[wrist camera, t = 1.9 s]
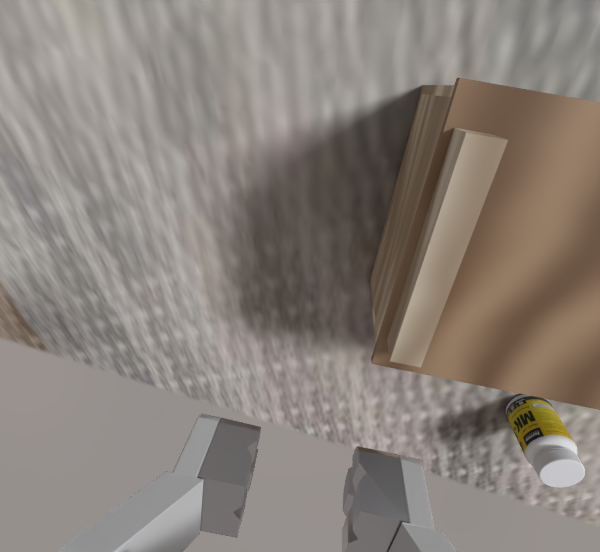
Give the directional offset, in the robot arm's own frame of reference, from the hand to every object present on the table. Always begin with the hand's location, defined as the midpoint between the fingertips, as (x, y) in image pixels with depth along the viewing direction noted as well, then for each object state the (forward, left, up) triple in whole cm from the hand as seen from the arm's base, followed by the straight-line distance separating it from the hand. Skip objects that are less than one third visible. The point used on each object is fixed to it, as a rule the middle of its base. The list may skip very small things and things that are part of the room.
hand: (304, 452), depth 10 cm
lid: (+14, 0, -17) cm, 22 cm away
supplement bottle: (+26, -21, -29) cm, 44 cm away
